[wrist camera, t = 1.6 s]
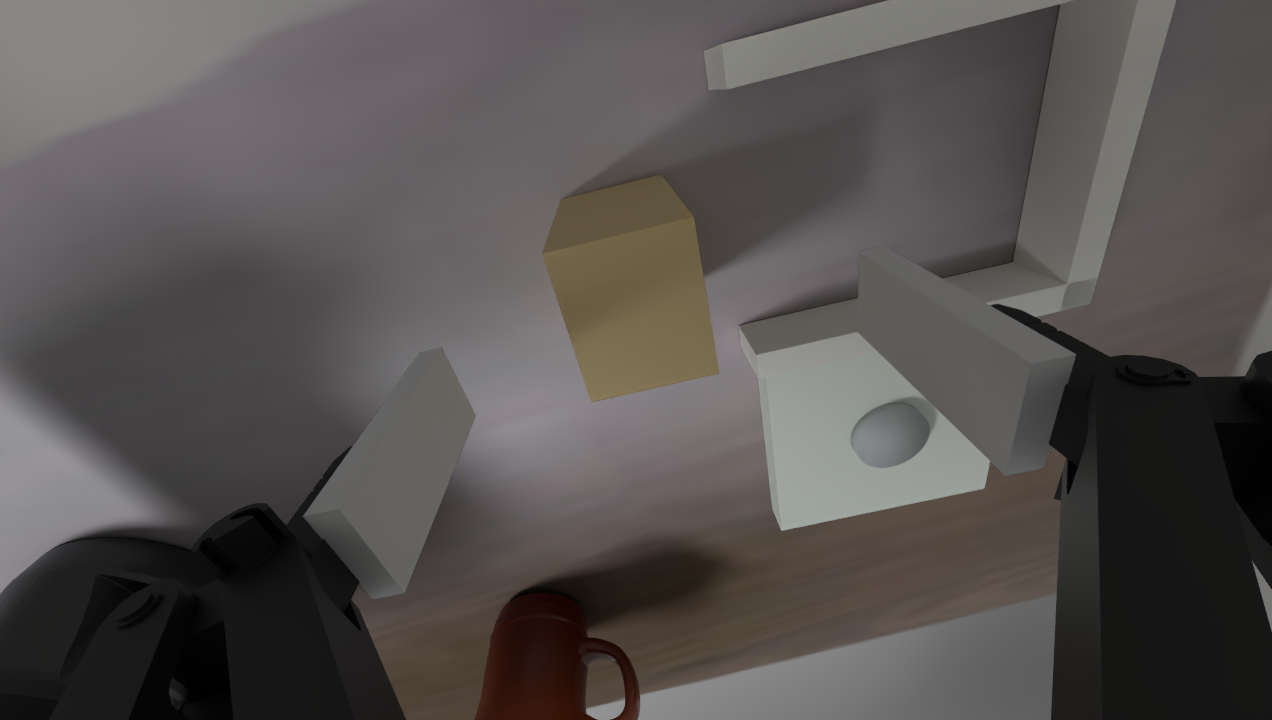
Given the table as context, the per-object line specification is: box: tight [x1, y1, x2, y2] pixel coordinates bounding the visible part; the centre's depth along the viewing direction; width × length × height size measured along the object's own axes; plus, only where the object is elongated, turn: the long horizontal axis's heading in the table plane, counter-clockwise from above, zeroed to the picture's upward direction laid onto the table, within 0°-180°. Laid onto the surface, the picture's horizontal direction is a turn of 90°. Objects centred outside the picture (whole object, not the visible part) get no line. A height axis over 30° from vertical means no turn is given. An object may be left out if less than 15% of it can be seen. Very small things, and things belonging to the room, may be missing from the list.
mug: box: [474, 592, 640, 720], centre depth 34 cm, size 12×9×10 cm
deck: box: [704, 0, 1176, 531], centre depth 26 cm, size 17×29×4 cm, turn 13°
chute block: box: [542, 175, 719, 402], centre depth 21 cm, size 5×6×9 cm
